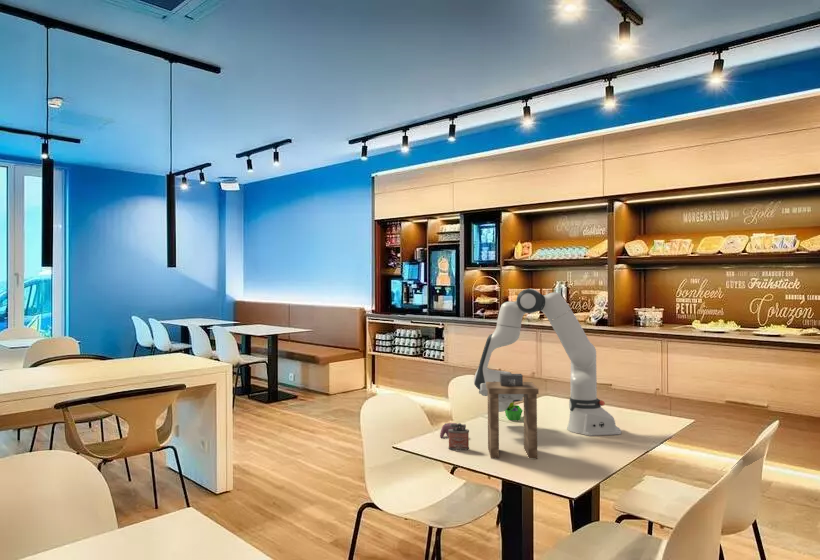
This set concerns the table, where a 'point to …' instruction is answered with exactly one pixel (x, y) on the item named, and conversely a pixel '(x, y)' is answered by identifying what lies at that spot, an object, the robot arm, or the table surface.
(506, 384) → the steel t handle
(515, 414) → the fruit basket
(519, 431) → the table surface
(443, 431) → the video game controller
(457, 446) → the lighter
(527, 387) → the walnut shelf
